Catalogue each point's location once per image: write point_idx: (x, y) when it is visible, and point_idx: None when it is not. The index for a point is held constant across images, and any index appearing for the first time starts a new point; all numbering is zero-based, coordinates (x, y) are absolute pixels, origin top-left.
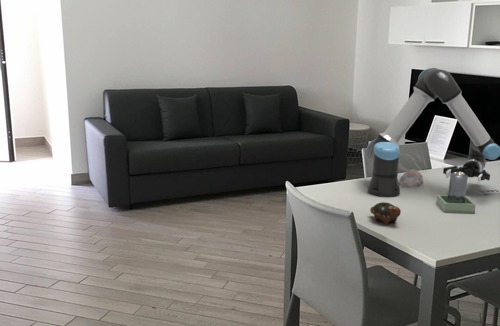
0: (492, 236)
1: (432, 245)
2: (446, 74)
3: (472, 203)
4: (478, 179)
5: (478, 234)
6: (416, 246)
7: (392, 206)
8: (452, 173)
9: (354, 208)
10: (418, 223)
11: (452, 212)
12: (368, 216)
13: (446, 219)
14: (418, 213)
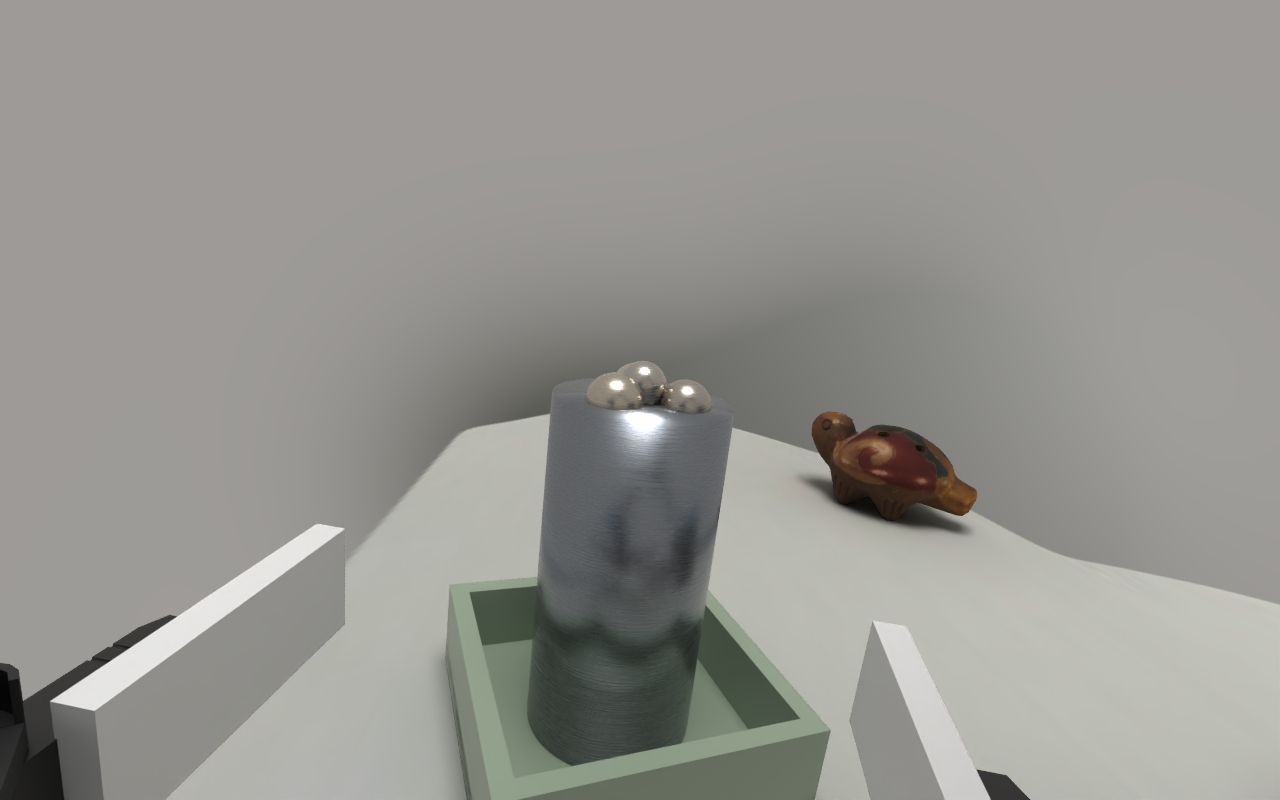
0: (445, 464)
1: None
2: None
3: (471, 601)
4: (333, 570)
5: (500, 469)
6: None
7: (863, 431)
8: (720, 415)
9: (1118, 583)
10: (752, 507)
11: None
12: (970, 529)
13: None
14: (813, 588)
